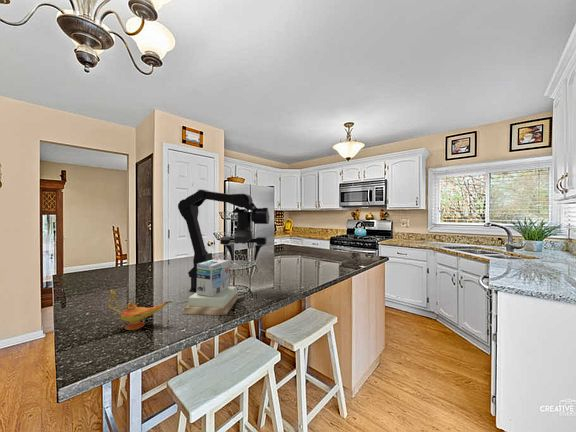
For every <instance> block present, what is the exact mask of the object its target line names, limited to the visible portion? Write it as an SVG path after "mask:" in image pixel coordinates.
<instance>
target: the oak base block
mask: <svg viewBox="0 0 576 432" xmlns="http://www.w3.org/2000/svg"><path fill="white" fill-rule="evenodd" d="M238 299H239V293H238V292H236V295H235V296H234V297H233V298H232V299H231V300H230V301H229V303H228V304H227V305H226V306H225V307H224V308H214V307H192V306H189V303H188V304H187V305H186V306H184V308H183V309H184V313H183V314H184V315H208V316H209V315H213V316H227V315H228V313H229V311H231V309H232V308H233V306H234V305H235V304H236V302H237V300H238Z"/></svg>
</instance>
